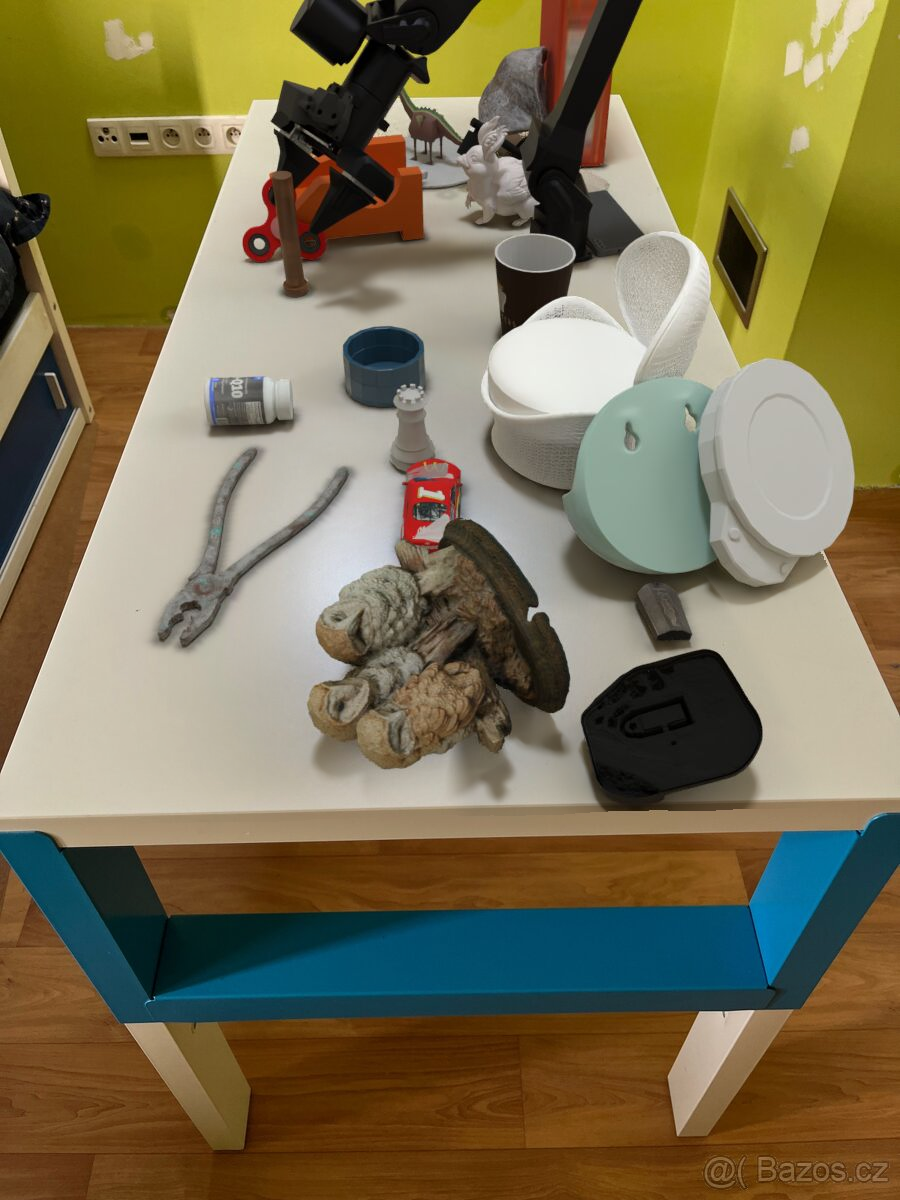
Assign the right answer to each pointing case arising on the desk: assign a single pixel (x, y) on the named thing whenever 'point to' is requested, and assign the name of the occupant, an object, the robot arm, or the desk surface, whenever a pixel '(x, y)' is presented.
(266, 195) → the toy
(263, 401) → the pill bottle
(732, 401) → the lid
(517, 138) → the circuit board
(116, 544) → the desk surface
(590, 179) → the stone
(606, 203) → the smartphone
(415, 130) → the dinosaur
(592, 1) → the file binder
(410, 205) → the tape dispenser
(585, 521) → the planter
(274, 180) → the brown rod with base
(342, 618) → the owl figurine
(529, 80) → the fossil
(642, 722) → the black plastic housing
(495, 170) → the figurine
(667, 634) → the block
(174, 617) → the pliers
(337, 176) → the robot arm
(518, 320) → the coffee mug
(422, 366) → the bowl
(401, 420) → the rook chess piece
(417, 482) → the race car
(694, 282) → the chair
